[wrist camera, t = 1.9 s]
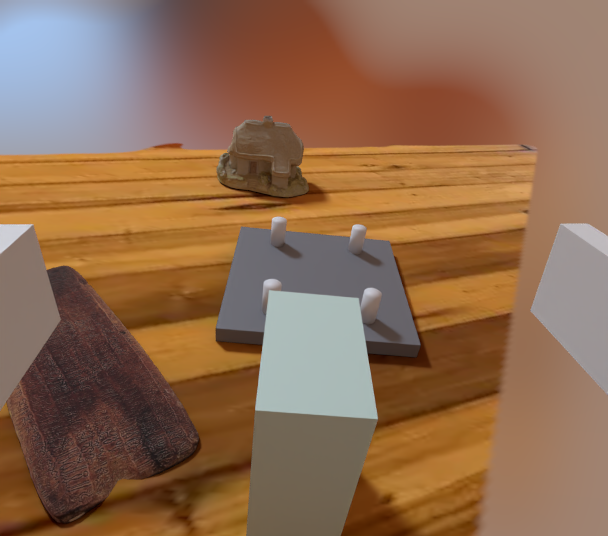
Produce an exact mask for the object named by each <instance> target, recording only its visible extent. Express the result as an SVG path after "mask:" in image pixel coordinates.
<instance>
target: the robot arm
mask: <svg viewBox="0 0 608 536" xmlns="http://www.w3.org/2000/svg"><path fill="white" fill-rule="evenodd" d="M530 311H531V312H532V313H533V314H534V315H535V316H536V317H537V318H538V320H540V322H541V323H542V324H543V325H544V326H545V327H546V328H547V329H548V330H549V331H550V333H551V334H552V335H553V336H554V337H555V338H556V339H557V340H558V341H559V342H560V343H561V344H562V346H563V347H564V348H565V349H566V350H567V351H568V352H569V353H570V354H571V355H572V357H573V358H574V359H575V360H576V361H577V362H578V363H579V364H580V365H581V366H582V367H583V369H584V370H585V371H586V372H587V373H588V374H589V375H590V376H591V377H592V378H593V380H594V381H595V382H596V383H597V384H598V385H599V386H600V387H601V388H602V389H603V390H604V391H605V393H606V394H607V395H608V236H607V235H605V234H603V233H602V232H600V231H599V230H597V229H596V228H594V227H592V226H591V225H589V224H560V227H559V230H558V232H557V235H556V238H555V241H554V244H553V247H552V250H551V253H550V256H549V258H548V261H547V264H546V267H545V270H544V273H543V276H542V279H541V281H540V284H539V287H538V290H537V293H536V296H535V299H534V302H533V305H532V307H531V310H530ZM60 320H61V319H60V315H59V312H58V308H57V305H56V302H55V298H54V295H53V291H52V288H51V284H50V281H49V277H48V274H47V271H46V267H45V264H44V260H43V257H42V253H41V250H40V246H39V243H38V239H37V236H36V233H35V229H34V226H33V225H0V410H1V409H2V407H3V406H4V404H5V403H6V401H7V400H8V398H9V397H10V395H11V394H12V392H13V391H14V389H15V388H16V386H17V385H18V383H19V382H20V380H21V379H22V377H23V376H24V374H25V373H26V371H27V370H28V368H29V367H30V365H31V364H32V362H33V361H34V359H35V358H36V356H37V355H38V353H39V352H40V350H41V349H42V347H43V346H44V344H45V343H46V341H47V340H48V338H49V337H50V335H51V334H52V332H53V331H54V329H55V328H56V326H57V325H58V323H59V322H60Z"/></svg>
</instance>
